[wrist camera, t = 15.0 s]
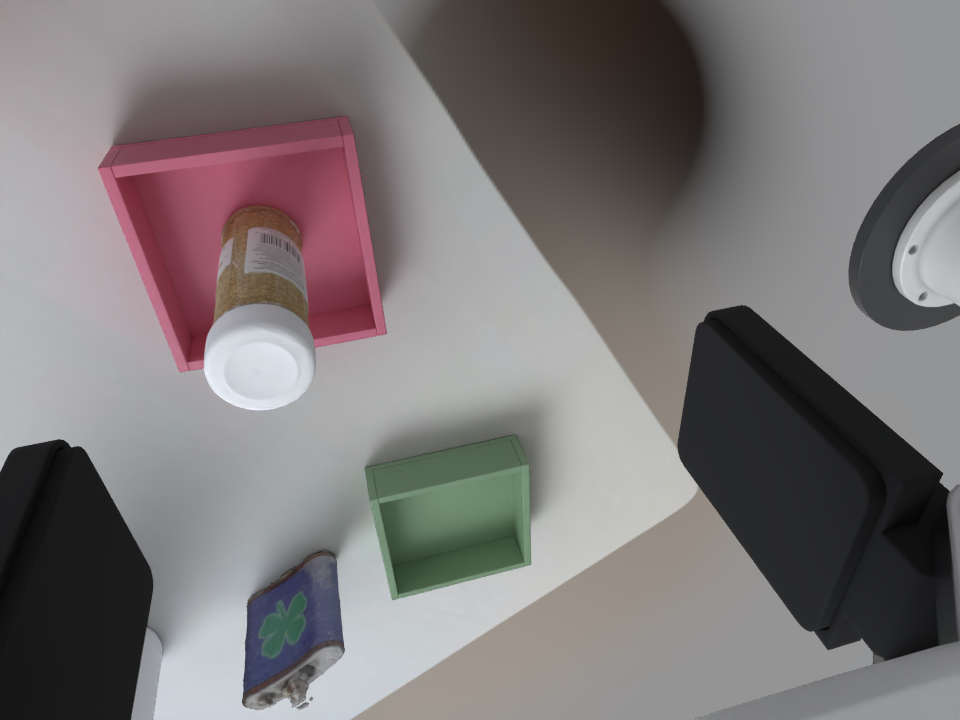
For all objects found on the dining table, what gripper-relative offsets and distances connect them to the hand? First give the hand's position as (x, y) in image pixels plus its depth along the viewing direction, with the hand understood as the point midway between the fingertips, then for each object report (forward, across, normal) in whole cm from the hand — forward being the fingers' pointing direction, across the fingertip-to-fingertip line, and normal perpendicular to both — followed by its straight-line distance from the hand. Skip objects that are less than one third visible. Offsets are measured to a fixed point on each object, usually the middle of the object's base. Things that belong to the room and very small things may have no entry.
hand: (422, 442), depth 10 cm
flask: (+31, +10, +40) cm, 51 cm away
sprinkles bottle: (+30, +5, +9) cm, 32 cm away
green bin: (+30, -4, +35) cm, 46 cm away
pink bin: (+30, +5, +9) cm, 32 cm away
